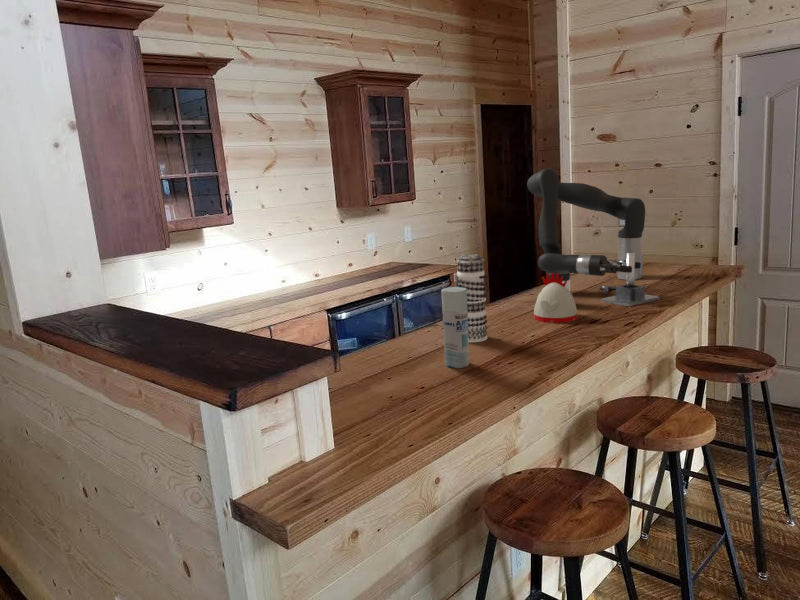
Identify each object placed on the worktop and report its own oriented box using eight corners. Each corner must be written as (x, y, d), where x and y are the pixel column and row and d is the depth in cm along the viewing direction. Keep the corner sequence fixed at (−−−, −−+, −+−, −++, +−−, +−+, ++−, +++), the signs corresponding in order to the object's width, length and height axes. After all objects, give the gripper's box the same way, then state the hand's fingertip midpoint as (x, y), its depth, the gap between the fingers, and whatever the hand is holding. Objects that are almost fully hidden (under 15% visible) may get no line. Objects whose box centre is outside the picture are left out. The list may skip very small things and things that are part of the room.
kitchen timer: (541, 311, 214) (541, 268, 211) (582, 314, 207) (582, 269, 204) (527, 321, 203) (527, 275, 200) (570, 324, 196) (569, 277, 193)
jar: (575, 305, 221) (575, 271, 218) (561, 309, 216) (561, 275, 213) (554, 301, 227) (554, 269, 225) (540, 305, 222) (540, 272, 220)
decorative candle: (479, 332, 192) (476, 252, 187) (494, 339, 184) (492, 255, 178) (452, 337, 189) (449, 255, 184) (466, 344, 180) (463, 258, 175)
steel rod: (629, 296, 224) (629, 252, 221) (635, 297, 222) (636, 252, 219) (623, 297, 223) (624, 253, 220) (630, 298, 220) (631, 253, 217)
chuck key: (600, 289, 244) (600, 284, 244) (616, 289, 242) (616, 284, 241) (596, 294, 235) (596, 289, 235) (613, 294, 233) (613, 289, 233)
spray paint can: (453, 359, 168) (450, 286, 163) (474, 362, 164) (471, 287, 159) (439, 365, 163) (436, 290, 159) (460, 369, 159) (457, 292, 154)
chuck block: (631, 294, 231) (631, 281, 230) (659, 299, 221) (659, 285, 220) (601, 301, 224) (601, 287, 223) (628, 306, 213) (628, 292, 212)
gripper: (583, 257, 223) (629, 259, 213) (599, 252, 233) (643, 253, 223) (583, 278, 224) (628, 281, 214) (599, 271, 235) (643, 274, 225)
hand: (636, 267), depth 219 cm, fingers open, 8 cm apart
